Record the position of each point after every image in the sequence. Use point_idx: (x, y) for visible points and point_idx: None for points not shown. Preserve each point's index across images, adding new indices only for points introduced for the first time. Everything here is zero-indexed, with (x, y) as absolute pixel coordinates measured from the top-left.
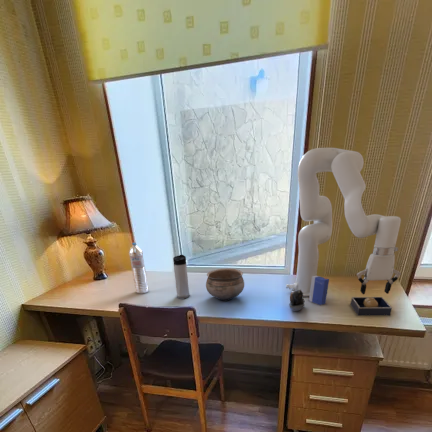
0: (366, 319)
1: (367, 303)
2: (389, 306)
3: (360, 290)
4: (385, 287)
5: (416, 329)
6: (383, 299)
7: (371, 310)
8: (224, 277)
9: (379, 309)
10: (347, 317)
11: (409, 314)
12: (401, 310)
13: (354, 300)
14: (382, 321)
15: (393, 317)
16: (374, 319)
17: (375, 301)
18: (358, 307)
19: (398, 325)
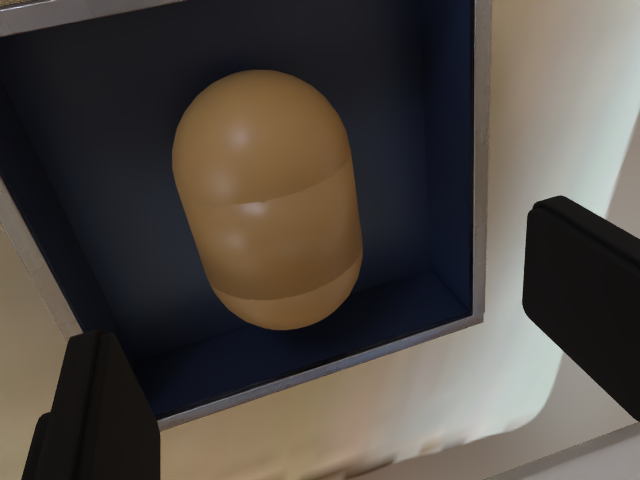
0: None
1: (225, 302)
2: (471, 287)
3: (45, 420)
4: (585, 256)
5: (531, 419)
6: (475, 59)
7: (269, 369)
8: None
9: (353, 349)
10: (22, 420)
11: (611, 179)
12: (591, 88)
13: (3, 213)
14: (350, 386)
15: None
16: None
17: (332, 303)
18: None
19: (446, 407)
